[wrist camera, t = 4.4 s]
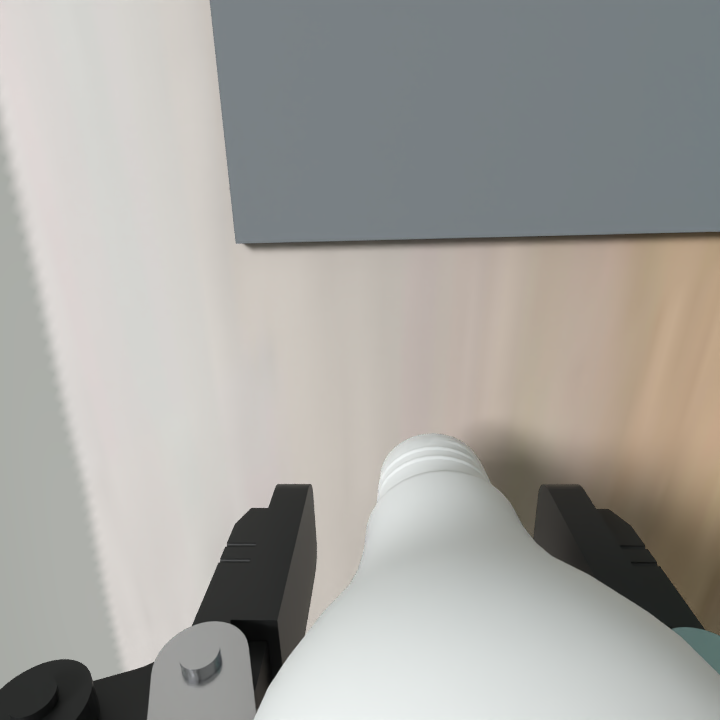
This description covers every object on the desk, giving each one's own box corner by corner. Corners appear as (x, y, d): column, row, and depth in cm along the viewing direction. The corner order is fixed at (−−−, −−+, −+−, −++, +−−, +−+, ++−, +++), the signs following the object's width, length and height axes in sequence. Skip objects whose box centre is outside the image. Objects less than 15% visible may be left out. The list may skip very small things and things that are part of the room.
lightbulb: (450, 589, 14) (645, 1634, 4) (267, 486, 13) (-95, 1542, 3) (598, 433, 13) (1630, 1619, 2) (399, 300, 12) (614, 1382, 1)
